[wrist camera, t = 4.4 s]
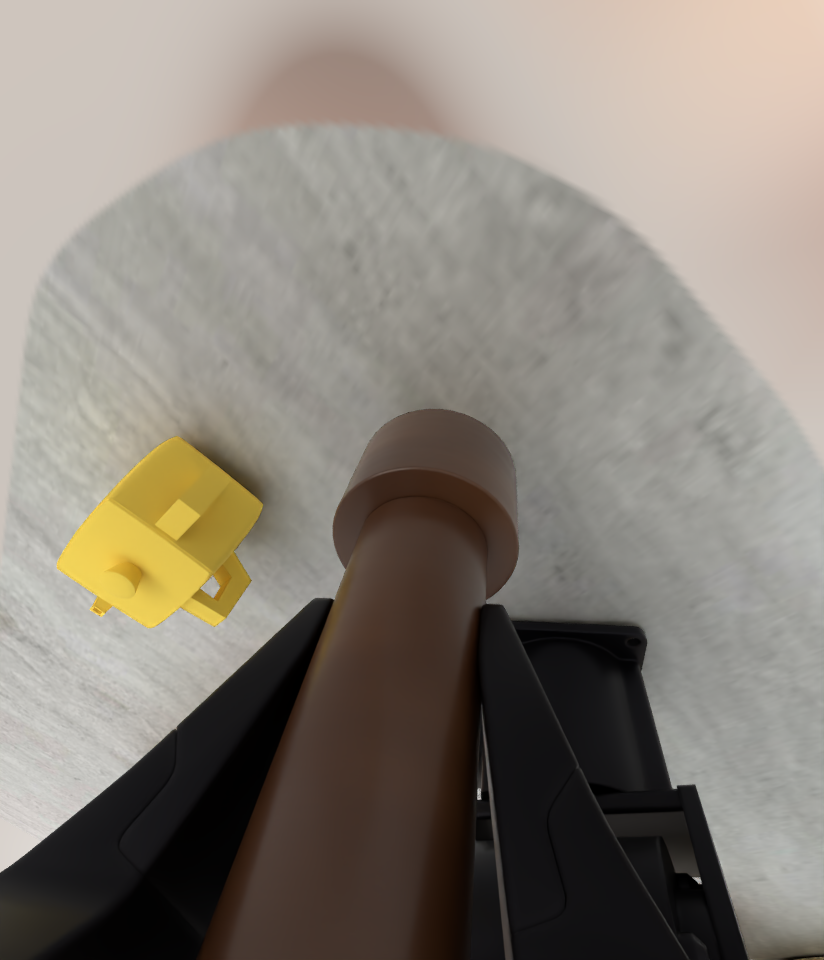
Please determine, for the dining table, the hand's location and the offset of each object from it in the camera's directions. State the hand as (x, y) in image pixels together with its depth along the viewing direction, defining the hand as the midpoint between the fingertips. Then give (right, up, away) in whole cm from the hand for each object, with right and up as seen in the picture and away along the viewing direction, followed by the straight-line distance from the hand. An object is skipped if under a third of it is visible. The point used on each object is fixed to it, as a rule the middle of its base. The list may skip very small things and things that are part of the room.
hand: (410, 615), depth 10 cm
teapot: (-8, +2, +10) cm, 13 cm away
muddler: (+1, +3, +4) cm, 5 cm away
